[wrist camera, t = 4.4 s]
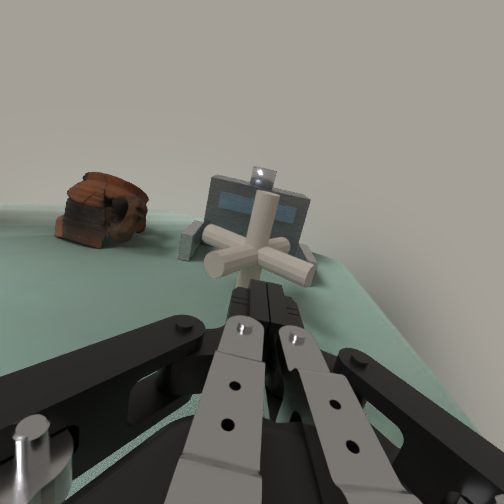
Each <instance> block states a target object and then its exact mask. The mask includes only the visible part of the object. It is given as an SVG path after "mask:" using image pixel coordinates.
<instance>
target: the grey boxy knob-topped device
mask: <svg viewBox="0 0 504 504" xmlns="http://www.w3.org/2000/svg"><path fill="white" fill-rule="evenodd" d="M275 176H276V171H274V170H270V169H265V168H261V167H257V166H254V167H253V171H252V176H251V181H250V182H247V181H242V180H238V179H234V178H230V177H225V176H221V175H215V176H213V177H211V183H210V189H209V195H208V201H207V206H206V213H205V218H204V222H199V221H194V222H193V223H192V224H191V225H190V226H189V227H188V228H187V229H186V230H185V231H184V232H183V233H182V236H181V242H180V249H179V256H178V259H181V260H185V261H189V260H190V258H191V257H192V255H193V254H194V252H195V251H196V249H197V248H198V246H199V245H200V244H204V245H209V244H207V243H205V242H204V241H203V239H202V234H203V231H204V229H205V228H206V227H207V225H210V224H213V225H216V226H218V227H221V228H223V229H226V230H228V231H231V232H233V233H236V234H238V235H241V236H243V237H246V236H247V232H248V227H249V223H250V219H251V214H252V210H253V205H254V201H255V196H256V192H257V190H261V191H267V192H271V193H275V194H278V195H280V198H279V202H278V206H277V210H276V214H275V218H274V222H273V226H272V230H271V234H270V238H269V239H273V238H278V237H284V238H286V239H287V240H288V241H289V243H290V251H289V252H288V255H291V256H293V257H296V258H298V259H301V260H303V261H306V262H308V263H311V264H313V265H316V268H317V265H318V262H317V260H316V259H315V257H314V256H313V254H312V252H311V251H310V249H309V248H308V246H307V245H304V244H300V243H299V239H300V236H301V232H302V229H303V225H304V222H305V218H306V214H307V210H308V208H309V204H310V199H309V198H308V197H306V196H305V195H303V194H299V193H295V192H290V191H286V190H281V189H277V188H273V184H274V180H275ZM209 246H212V245H209ZM213 247H214V246H213ZM315 271H316V270H315ZM312 281H313V279H312ZM312 281H311V283H310V285H309V286H310V287H311V284H312Z"/></svg>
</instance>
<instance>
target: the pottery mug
mask: <svg viewBox="0 0 504 504" xmlns="http://www.w3.org/2000/svg"><path fill="white" fill-rule="evenodd" d="M67 195H68V196H69V198H68V199H67V202H66V208H65V214H64V215H63V216H61V217H58V218H57V220H56V228H55V229H56V232H55V236H56V237H60V238H66V239H69V240H71V241H73V242H76V243H80V244H84V245H88V246H91V247H95V248H98V249H100V248H101V247H102V244H103V240H104V238H105V236H106V233H107V232H108V233H109V235H110V236H111V238H112V239H113V240H115V241H116V242H125V241H129V240H130V238H131V236H132V235H133V233H134V232H135V231H136V232H137V233H140V232H144V230H145V227H146V214H147V211H148V210H147V206H146V203H147V202H148V200H149V199H148V196H147V195H146V193H144V192H143V191H142V190H141V189H140V188H138V187H137V186H135V185H134V184H132V183H130V182H127V181H125V180H123V179H121V178H118V177H115V176H112V175H109V174H103V173H100V172H88V173H86V174H85V176H83V181H82V182H79V183H77V184H76V185H74V186H73V187H72V188H70V189H69V190H68V191H67Z"/></svg>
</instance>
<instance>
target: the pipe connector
mask: <svg viewBox="0 0 504 504" xmlns="http://www.w3.org/2000/svg"><path fill="white" fill-rule="evenodd" d="M279 198H280V195H278V194H275V193H271V192H267V191H261V190H257V192H256V196H255V201H254V205H253V210H252V214H251V219H250V223H249V227H248V232H247V236H246V237H243V236H241V235H238V234H236V233H233V232H231V231H228V230H226V229H223V228H221V227H218V226H216V225H213V224H210V225H207V227H206V228H205V229H204V231H203V234H202V239H203V241H204V242H205V243H207V244H209V245H212V246H214V247H216V248H218V249H220V250H217V251H212V252H210V253H208V254H206V256H205V258H204V268H205V271H206V273H207V274H208V275H209V276H210V277H212V278H219V277H222V276H225V275H228V274H231V273H234V272H237V271H239V272H238V276H237V281H236V285H235V288H237V287H238V286H239V287H243V288H248V286H249V282H250V279H254V280H259V278H260V274H261V270H262V268H263V269H265V270H267V271H269V272H272V273H274V274H276V275H278V276H280V277H283V278H285V279H287V280H289V281H292V282H294V283H296V284H298V285H300V286H303V287H308V286H309V285H310V283H311V281H312V279H313V277H314V274H315V270H316V265H313V264H311V263H308V262H306V261H303V260H301V259H298V258H296V257H293V256H291V255H288V252H289V251H290V243H289V241H288V240H287V239H286V238H284V237H278V238H273V239H269V238H270V234H271V230H272V226H273V222H274V218H275V214H276V210H277V206H278V202H279Z"/></svg>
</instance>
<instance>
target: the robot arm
mask: <svg viewBox="0 0 504 504" xmlns="http://www.w3.org/2000/svg"><path fill="white" fill-rule="evenodd" d="M155 371H157V372H156V373H154V374H152V375H150V376H149V377H147V378H145V379H143V380H141V381H139V380H140V379H142V378H143V377H145V376H147V375H149V374H151V373H153V372H155ZM264 378H265V380H264ZM138 381H139V382H138ZM200 393H202V394H201V397H200V400H199V403H198V407H197V410H196V413H195V415H191V416H187V417H183V418H180V419H178V420H175V421H173V422H171V423H169V424H168V425H166V426H164V427H163V428H161V429H160V430H158V431H157V432H156V433H154V434H153V435H152V436H150V437H149V438H148V439H146V440H145V441H144V442H142V443H141V444H140V445H138V446H137V447H136V448H134V449H133V450H132V451H130V452H129V453H128V454H126V455H125V456H124V457H122V458H121V459H120V460H118V461H117V462H116V463H115V464H113V465H112V466H111V467H109V468H108V469H107V470H105V471H104V472H103V473H101V474H100V475H99V476H97V477H96V478H95V479H93V480H92V481H91V482H89V483H88V484H87V485H85V486H84V487H83V488H81V489H80V490H79V491H77V492H76V493H75V494H73V495H72V496H71V497H69V498H68V499H67V500H65V499H66V497H67V495H68V493H69V491H70V488H71V485H72V481H73V480H74V479H76V478H77V477H79V476H80V475H82V474H83V473H84V472H86V471H87V470H89V469H90V468H92V467H93V466H95V465H96V464H98V463H99V462H101V461H102V460H104V459H105V458H107V457H108V456H109V455H111V454H112V453H114V452H115V451H117V450H118V449H120V448H121V447H123V446H124V445H126V444H127V443H129V442H130V441H132V440H133V439H134V438H136V437H137V436H139V435H140V434H142V433H143V432H145V431H146V430H148V429H149V428H151V427H152V426H154V425H155V424H157V423H158V422H159V421H161V420H162V419H164V418H165V417H167V416H168V415H170V414H171V413H173V412H174V411H176V410H177V409H179V408H180V407H182V406H183V405H184V404H186V403H187V402H188V401H189V400H190V398H191V396H192V394H200ZM367 401H368V402H369V403H371V404H372V405H373V406H374V407H375V408H377V409H378V410H379V411H380V412H381V413H382V414H384V415H385V416H386V417H387V418H388V419H390V420H391V421H392V422H393V423H394V424H395V425H397V426H398V428H399V429H400V430H401V432H402V434H403V438H404V443H403V445H402V447H401V449H399V448H397V447H396V446H395V445H394V444H392V443H391V442H390V441H389V440H388V439H387V438H386V437H385V436H384V435H382V434H381V433H380V432H379V431H378V430H377V429H376V428H375V427H374V426H373V425H371V424H370V423H369V421H368V419H367V417H366V415H365V413H364V411H363V408H364V406H365V404H366V402H367ZM263 410H264V417H262V416H263ZM0 504H504V452H502V451H501V450H500V449H498V448H497V447H495V446H494V445H493V444H491V443H490V442H488V441H487V440H486V439H484V438H483V437H481V436H480V435H479V434H477V433H476V432H474V431H473V430H472V429H470V428H469V427H468V426H466V425H465V424H463V423H462V422H461V421H459V420H458V419H456V418H455V417H454V416H452V415H451V414H449V413H448V412H447V411H445V410H444V409H442V408H441V407H440V406H438V405H437V404H435V403H434V402H433V401H431V400H430V399H428V398H427V397H426V396H424V395H423V394H421V393H420V392H419V391H417V390H416V389H414V388H413V387H412V386H410V385H409V384H407V383H406V382H405V381H403V380H402V379H400V378H399V377H398V376H396V375H395V374H393V373H392V372H391V371H389V370H388V369H386V368H385V367H384V366H382V365H381V364H379V363H378V362H377V361H375V360H374V359H372V358H371V357H370V356H368V355H367V354H365V353H363V352H361V351H359V350H356V349H352V348H344V349H341V350H340V351H339V354H338V356H334V355H332V354H330V353H327V352H325V351H322V350H321V349H319V346H318V344H317V342H316V340H315V338H314V337H313V335H312V334H311V333H309V332H308V331H306V330H305V329H304V327H303V324H302V320H301V317H300V313H299V311H298V307H297V303H296V302H295V301H294V300H293V299H292V298H291V297H287V296H284V293H283V289H282V285H278V284H274V283H269V282H264V281H259V280H254V279H250V282H249V286H248V288H243V287H239V286H238V287H237V288H235V289H234V290H233V292H232V296H231V301H230V305H229V310H228V314H227V319H226V324H225V325H224V326H222V327H220V328H216V329H205V326H204V324H203V322H202V321H200V320H199V319H197V318H195V317H193V316H189V315H175V316H171V317H168V318H166V319H163V320H160V321H157V322H154V323H151V324H149V325H146V326H143V327H140V328H137V329H135V330H132V331H129V332H126V333H123V334H120V335H118V336H115V337H112V338H109V339H106V340H103V341H101V342H98V343H95V344H92V345H89V346H86V347H84V348H81V349H78V350H75V351H72V352H69V353H67V354H64V355H61V356H58V357H55V358H53V359H50V360H47V361H44V362H41V363H38V364H36V365H33V366H30V367H27V368H24V369H21V370H19V371H16V372H13V373H10V374H7V375H4V376H2V377H0Z"/></svg>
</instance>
